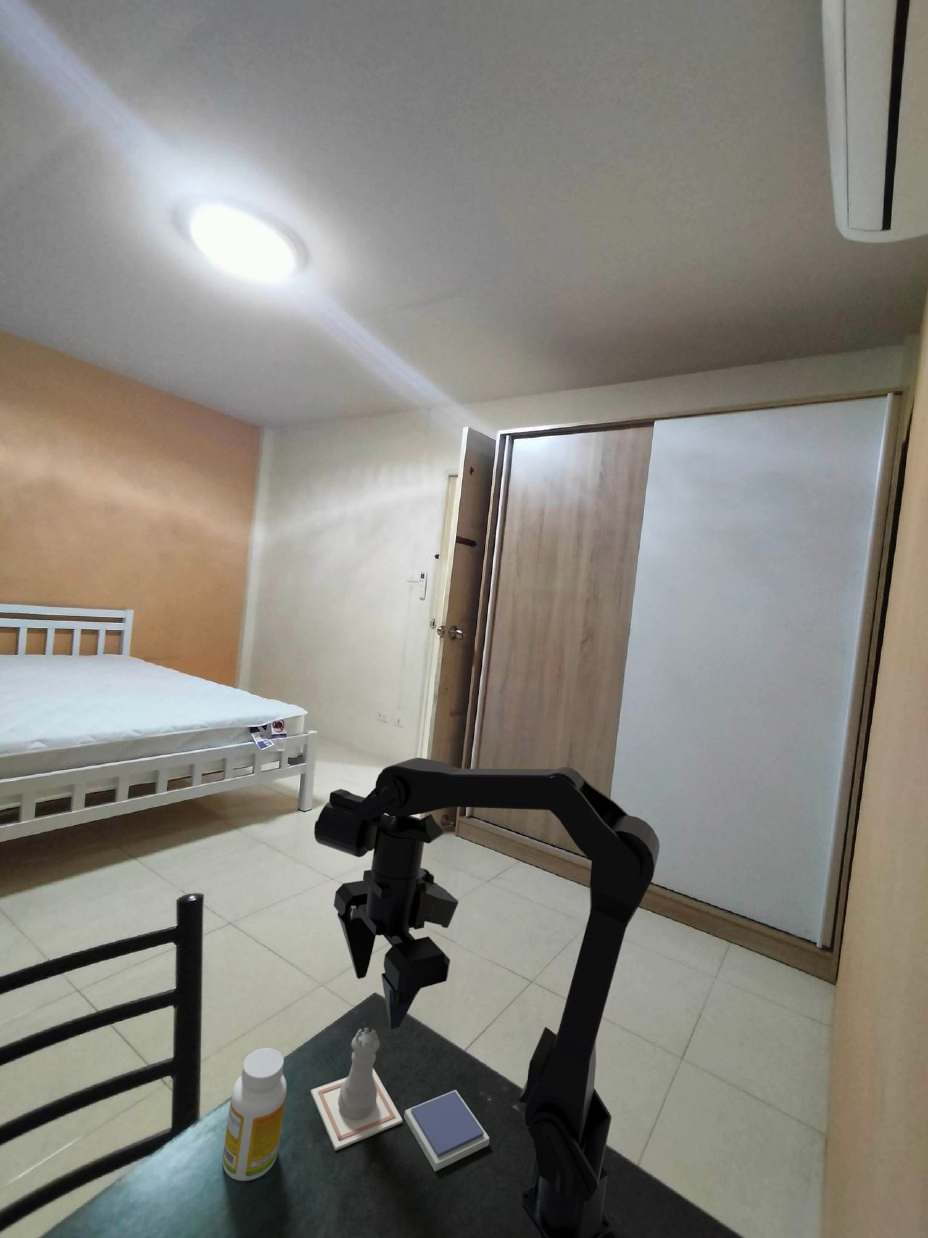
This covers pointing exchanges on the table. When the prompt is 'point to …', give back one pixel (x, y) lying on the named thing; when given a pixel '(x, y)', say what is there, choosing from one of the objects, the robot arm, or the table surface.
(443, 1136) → the ink pad
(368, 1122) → the marked square board
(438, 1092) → the table surface
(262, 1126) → the supplement bottle
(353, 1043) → the rook chess piece
